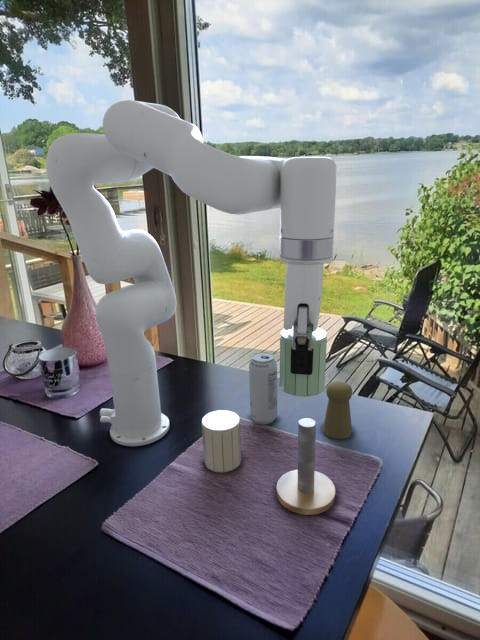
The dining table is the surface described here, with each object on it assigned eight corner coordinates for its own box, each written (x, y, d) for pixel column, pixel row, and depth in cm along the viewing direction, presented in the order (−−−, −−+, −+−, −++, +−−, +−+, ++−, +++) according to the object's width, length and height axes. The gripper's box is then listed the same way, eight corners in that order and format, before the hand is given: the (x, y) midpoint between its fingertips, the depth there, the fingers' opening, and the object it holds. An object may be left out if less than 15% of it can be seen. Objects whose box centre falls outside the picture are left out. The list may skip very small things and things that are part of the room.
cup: (200, 470, 82) (197, 428, 79) (209, 448, 89) (206, 408, 86) (237, 473, 81) (235, 431, 78) (243, 450, 87) (242, 411, 85)
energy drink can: (256, 409, 102) (255, 349, 98) (281, 414, 100) (281, 353, 95) (246, 422, 97) (244, 360, 92) (271, 428, 95) (270, 364, 90)
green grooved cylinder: (277, 394, 67) (278, 340, 64) (281, 374, 74) (282, 324, 71) (324, 398, 66) (327, 342, 63) (324, 377, 73) (326, 326, 70)
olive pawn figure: (352, 440, 90) (355, 392, 86) (322, 437, 91) (324, 390, 87) (351, 424, 95) (354, 378, 92) (323, 421, 96) (324, 376, 93)
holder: (273, 511, 72) (273, 437, 67) (279, 472, 81) (278, 404, 76) (336, 518, 70) (340, 442, 65) (334, 476, 79) (337, 408, 75)
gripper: (284, 239, 72) (283, 340, 77) (273, 261, 55) (272, 387, 61) (331, 239, 70) (326, 342, 76) (334, 262, 54) (327, 390, 60)
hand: (302, 361), depth 69 cm, fingers closed on green grooved cylinder, 7 cm apart
